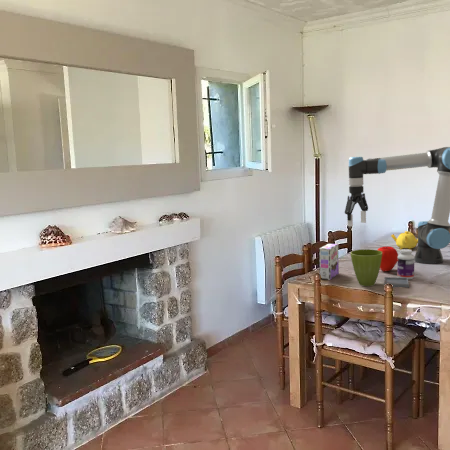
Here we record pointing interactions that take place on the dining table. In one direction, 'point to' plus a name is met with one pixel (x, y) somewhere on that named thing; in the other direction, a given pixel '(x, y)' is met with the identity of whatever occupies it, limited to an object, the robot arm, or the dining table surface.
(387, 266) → the apple
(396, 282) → the socket plate
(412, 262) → the pill bottle
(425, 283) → the dining table surface
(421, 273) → the dining table surface
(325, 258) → the candy box
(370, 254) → the flower pot
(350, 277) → the dining table surface
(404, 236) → the teapot
